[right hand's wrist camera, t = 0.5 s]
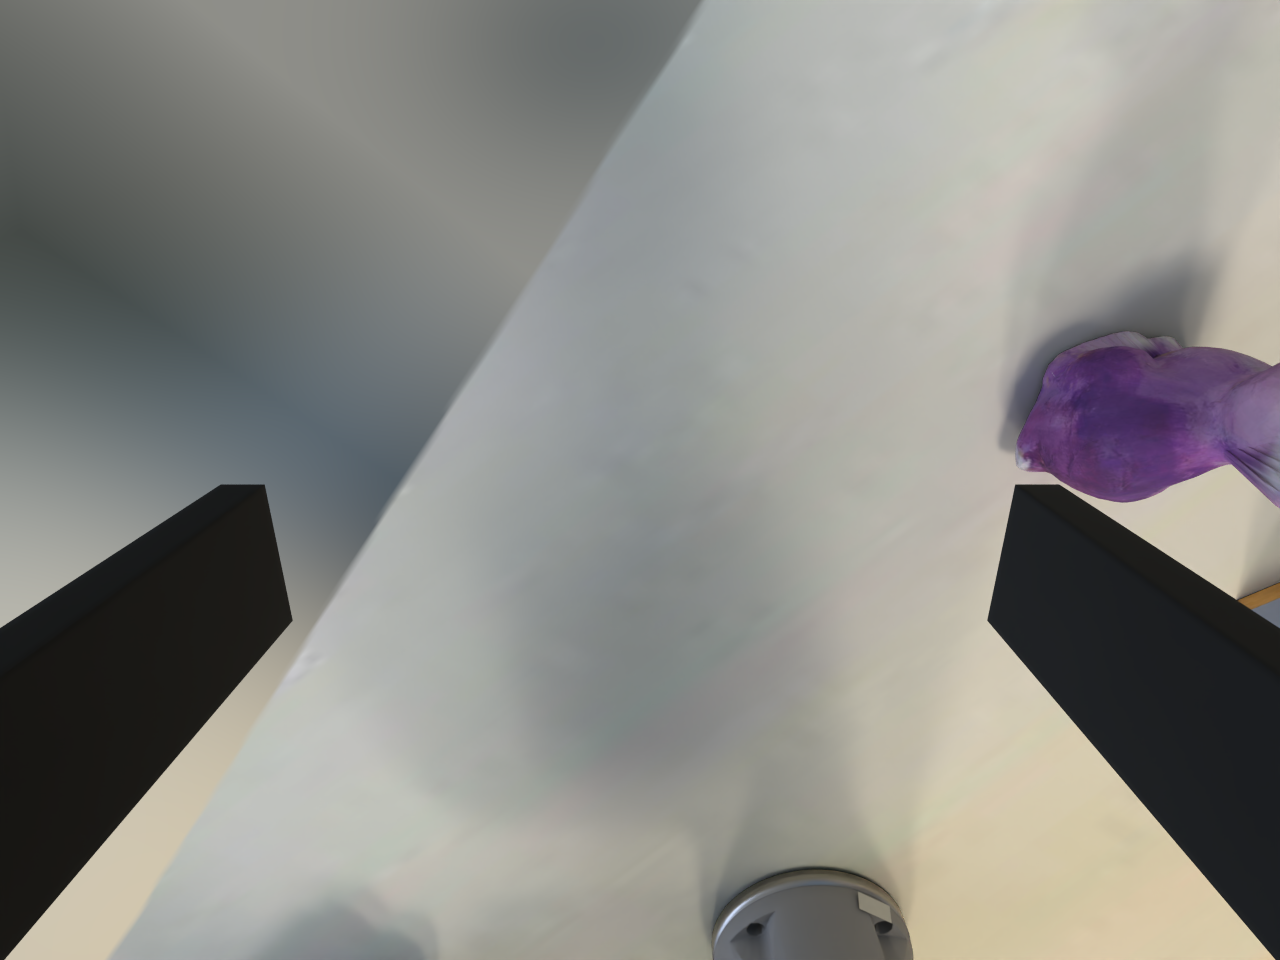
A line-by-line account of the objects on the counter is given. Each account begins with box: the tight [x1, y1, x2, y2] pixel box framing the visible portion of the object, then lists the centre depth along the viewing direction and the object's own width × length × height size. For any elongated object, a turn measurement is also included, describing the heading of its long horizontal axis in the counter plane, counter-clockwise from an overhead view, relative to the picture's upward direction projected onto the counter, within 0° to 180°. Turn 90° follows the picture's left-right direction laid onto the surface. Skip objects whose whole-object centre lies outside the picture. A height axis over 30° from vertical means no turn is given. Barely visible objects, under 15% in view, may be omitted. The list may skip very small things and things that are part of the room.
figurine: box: [1015, 331, 1280, 508], centre depth 32 cm, size 9×10×15 cm
